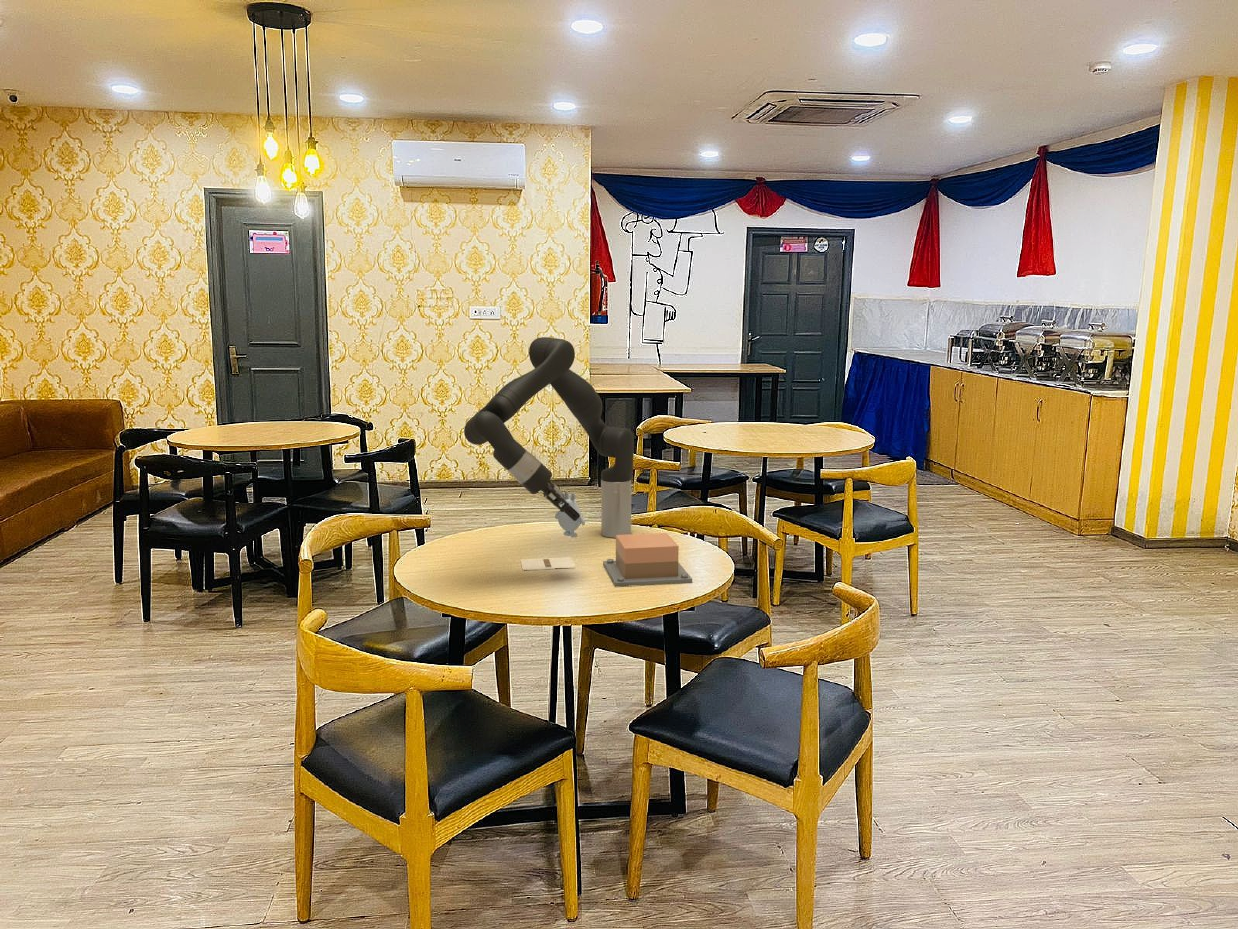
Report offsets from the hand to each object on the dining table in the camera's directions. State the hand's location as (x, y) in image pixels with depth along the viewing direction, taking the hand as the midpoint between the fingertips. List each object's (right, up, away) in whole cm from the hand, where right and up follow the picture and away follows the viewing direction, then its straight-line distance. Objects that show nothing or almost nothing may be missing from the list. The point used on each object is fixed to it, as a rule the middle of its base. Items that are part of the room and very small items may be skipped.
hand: (575, 514), depth 238 cm
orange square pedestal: (+18, -16, +5) cm, 25 cm away
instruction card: (-8, -14, +13) cm, 21 cm away
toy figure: (-2, -6, +1) cm, 6 cm away
